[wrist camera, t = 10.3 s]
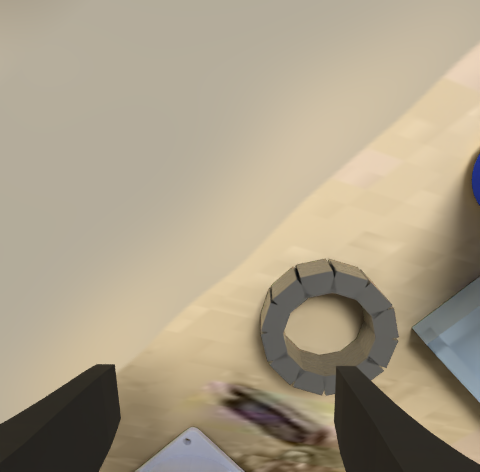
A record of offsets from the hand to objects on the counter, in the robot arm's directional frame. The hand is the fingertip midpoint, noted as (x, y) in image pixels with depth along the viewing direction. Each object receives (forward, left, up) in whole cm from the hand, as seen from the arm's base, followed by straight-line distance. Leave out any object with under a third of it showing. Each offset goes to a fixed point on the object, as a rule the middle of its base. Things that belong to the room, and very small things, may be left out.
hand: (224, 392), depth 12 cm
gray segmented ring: (+2, -5, -10) cm, 12 cm away
